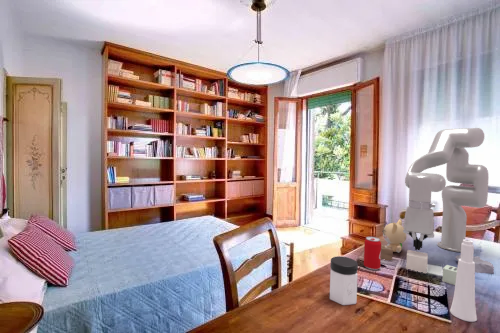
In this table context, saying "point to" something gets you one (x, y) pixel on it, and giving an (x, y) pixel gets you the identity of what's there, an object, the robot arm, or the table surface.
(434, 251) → the table surface
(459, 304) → the cosmetic bottle
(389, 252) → the walnut cube
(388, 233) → the kitten
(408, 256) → the cream block
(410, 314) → the table surface
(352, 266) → the jar
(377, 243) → the beverage can
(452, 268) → the sage cube
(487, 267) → the stone block
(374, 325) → the table surface
